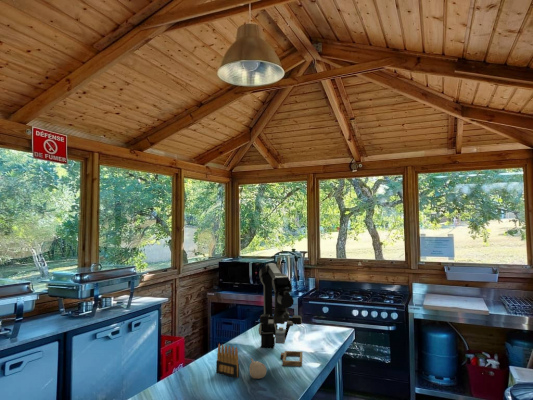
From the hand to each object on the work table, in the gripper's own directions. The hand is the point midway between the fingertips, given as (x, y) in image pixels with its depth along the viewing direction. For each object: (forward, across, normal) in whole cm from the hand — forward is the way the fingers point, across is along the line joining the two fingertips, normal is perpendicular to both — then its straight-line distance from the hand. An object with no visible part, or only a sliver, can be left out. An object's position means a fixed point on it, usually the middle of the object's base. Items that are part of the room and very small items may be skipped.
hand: (280, 338), depth 168 cm
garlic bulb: (+11, -7, -19) cm, 23 cm away
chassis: (+11, +5, +4) cm, 13 cm away
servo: (+1, 0, 0) cm, 1 cm away
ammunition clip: (+11, -20, -17) cm, 29 cm away
